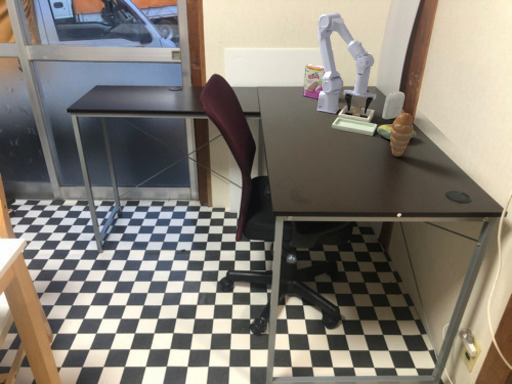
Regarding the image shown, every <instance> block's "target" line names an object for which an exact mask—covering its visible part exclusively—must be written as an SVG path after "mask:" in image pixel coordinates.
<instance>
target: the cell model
mask: <svg viewBox="0 0 512 384" xmlns="http://www.w3.org/2000/svg"><path fill="white" fill-rule="evenodd" d="M392 124H393V123H392ZM392 124H381V125H380V126H378V127H377V128H376V130H377V133H378V134H379V135H380V136H381V137H383V138H385V139H388V140H390V136H391V129H392ZM416 136H417V132H416V131H415V130H414V129H413V131H412V136H411V138H410V139H412V138H416Z"/></svg>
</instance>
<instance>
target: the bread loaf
mask: <svg viewBox="0 0 512 384" xmlns="http://www.w3.org/2000/svg"><path fill="white" fill-rule="evenodd" d="M352 107H353V113H351V114H352V115H351V116H356V117H361V115H360V113H361V108H362V105H360V104H354V105H353V106H352Z"/></svg>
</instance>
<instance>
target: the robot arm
mask: <svg viewBox="0 0 512 384" xmlns="http://www.w3.org/2000/svg"><path fill="white" fill-rule="evenodd" d="M316 23H317V32H316V33H317V34H316V36H317V37H316V38H317V42H318V46H319V51H320V56H321V61H322V66H323V67H324V72H325V74H324V76H323V78H322V81H323V84H322V89H323V91H321V92H320V94H319V98H318V99H317V100H318V101H317V108H316V112H317V111H318V112H323V113H331V114H337V113H338V111H339V110H340V107H339V98H340V92H341V90H342V89H343V87H344V79H342V77H341V74H340V73H339V71H337V67H336V62H335V57H334V53H333V52H334V51H333V47H332V42H331V35H332V34H333V32H336V33H338V35H339V36H340V37H341V38H342V40H343V41H344V42H345V43H346V45H347V50H348V52H349V53H350V56H351V57H352V58H353V59H354V61H355V62H354V63H355V67H356V74H355V80H354V81H355V82H354V87H353V89H344V90H343V96H344V99H345V102H346V106H347V107H348V111H349V110H350V107H351V104H352V99H353V97H358V98H359V97H360V98H366V99H365V107H364V109H365V111H364V114H366V112H367V109H369V106H370V104H371V103H372V101H373V100H376V99H377V94H376V93H372V92H368V87H369V85H368V84H369V80H370V74H371V73H370V72H371V69H372V68H371V67H373V66H374V64H375V58H374V56H373V55H372V54H370V53H368V51H367V50H366V49H365V48H364V47H363V43H362V42H361V41H359V40H355V39H354V37H353V35H352V34H351V32H350V30H349V29H348V27H347V25H346V24H345V20H344V18H343V17H342V15H341V14H340V13H339V12H332V13H331V12H330V13H323V14H321V15H320V16H319V18H318V20H317V21H316Z"/></svg>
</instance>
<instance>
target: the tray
mask: <svg viewBox="0 0 512 384" xmlns="http://www.w3.org/2000/svg"><path fill="white" fill-rule="evenodd" d="M377 126H378V124H376V123H372V122H370V123H366V122H361V121H355V120H349V119H343V118H338V116H337V117H336V118H335V120H334V121H333V122H332V124H331V129H333V130H337V131H343V132H348V133H355V134H360V135H366V136H370V137H373V136H374V134H375V131H376V130H377V128H378V127H377Z"/></svg>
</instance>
